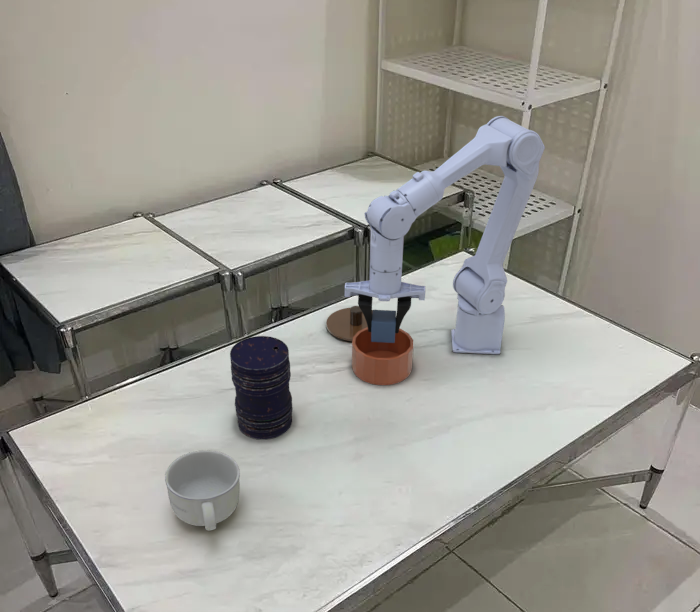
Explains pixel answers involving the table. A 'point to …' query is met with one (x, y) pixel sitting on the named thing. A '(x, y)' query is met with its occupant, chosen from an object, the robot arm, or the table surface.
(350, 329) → the lid
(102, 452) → the table surface
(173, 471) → the teacup
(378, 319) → the block
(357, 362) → the bowl
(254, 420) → the storage jar
